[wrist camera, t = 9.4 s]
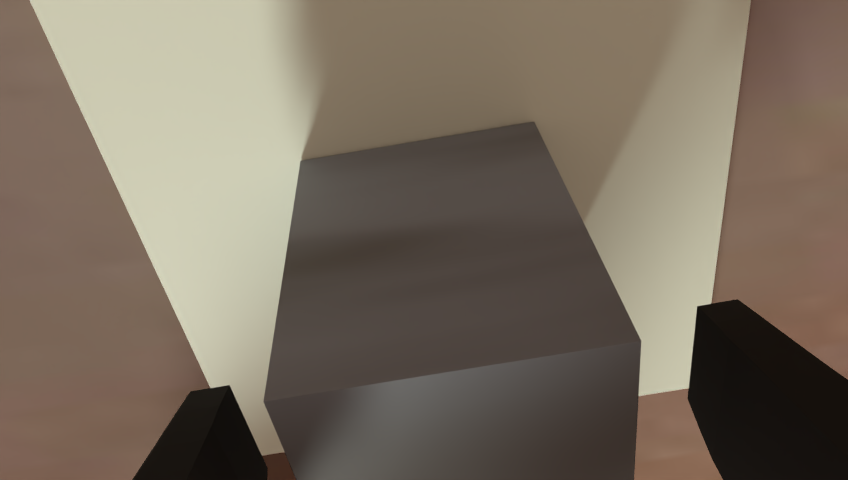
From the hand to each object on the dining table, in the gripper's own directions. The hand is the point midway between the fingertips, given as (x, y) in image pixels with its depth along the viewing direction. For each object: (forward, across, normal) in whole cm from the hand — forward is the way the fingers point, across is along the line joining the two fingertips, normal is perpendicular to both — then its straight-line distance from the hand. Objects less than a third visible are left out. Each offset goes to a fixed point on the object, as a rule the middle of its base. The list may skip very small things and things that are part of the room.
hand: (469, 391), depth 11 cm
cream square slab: (+6, 0, 0) cm, 6 cm away
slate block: (+4, 0, 0) cm, 4 cm away
